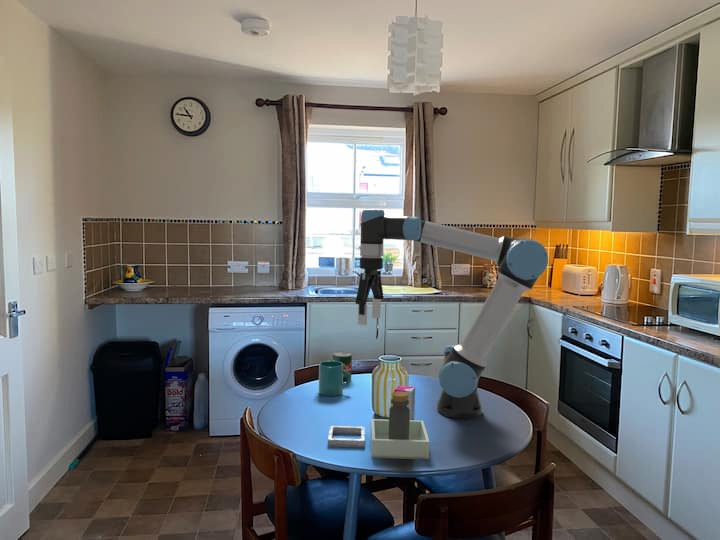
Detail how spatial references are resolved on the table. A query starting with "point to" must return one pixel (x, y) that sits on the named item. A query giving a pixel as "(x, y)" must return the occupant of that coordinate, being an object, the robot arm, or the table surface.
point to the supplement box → (409, 398)
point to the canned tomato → (344, 362)
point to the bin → (399, 441)
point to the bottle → (399, 416)
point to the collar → (346, 442)
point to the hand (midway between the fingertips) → (369, 321)
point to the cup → (332, 378)
